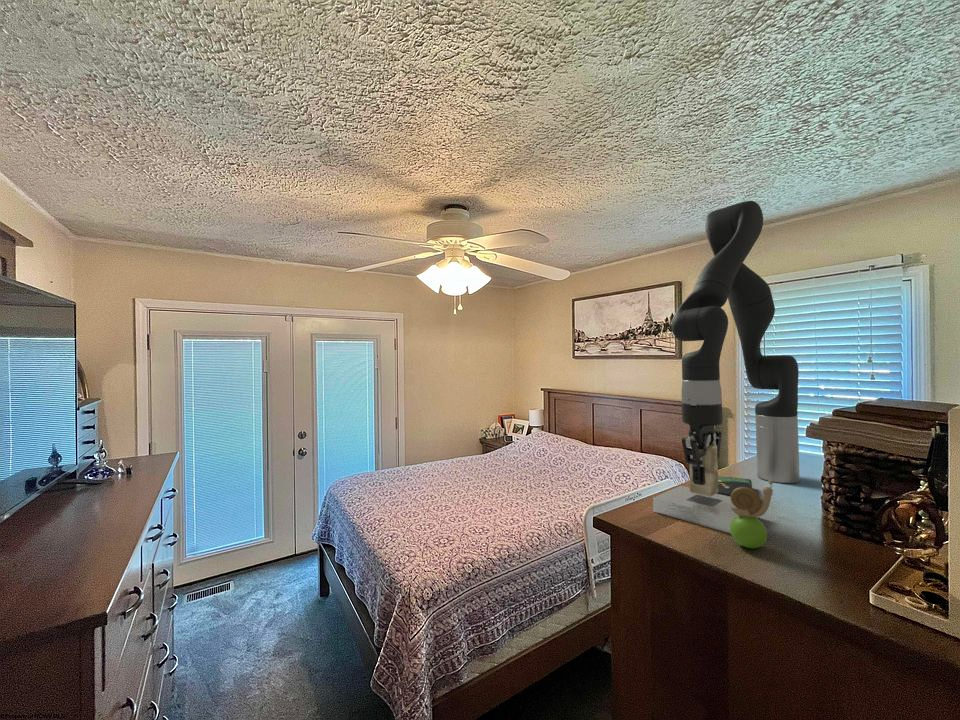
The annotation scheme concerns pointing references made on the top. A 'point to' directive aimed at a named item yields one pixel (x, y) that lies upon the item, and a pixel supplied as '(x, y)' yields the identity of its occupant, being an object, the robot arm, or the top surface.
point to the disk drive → (731, 484)
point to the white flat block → (696, 508)
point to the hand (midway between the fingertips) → (703, 481)
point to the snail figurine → (749, 516)
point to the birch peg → (707, 474)
